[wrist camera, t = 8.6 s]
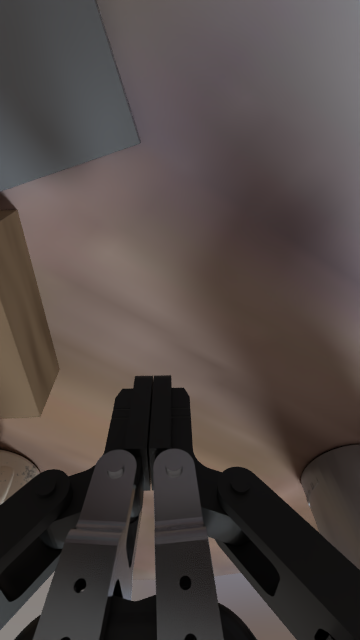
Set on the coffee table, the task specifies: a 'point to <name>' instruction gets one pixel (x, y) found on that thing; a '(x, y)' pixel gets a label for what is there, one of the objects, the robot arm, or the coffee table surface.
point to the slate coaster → (57, 90)
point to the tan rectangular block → (22, 328)
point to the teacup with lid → (14, 473)
